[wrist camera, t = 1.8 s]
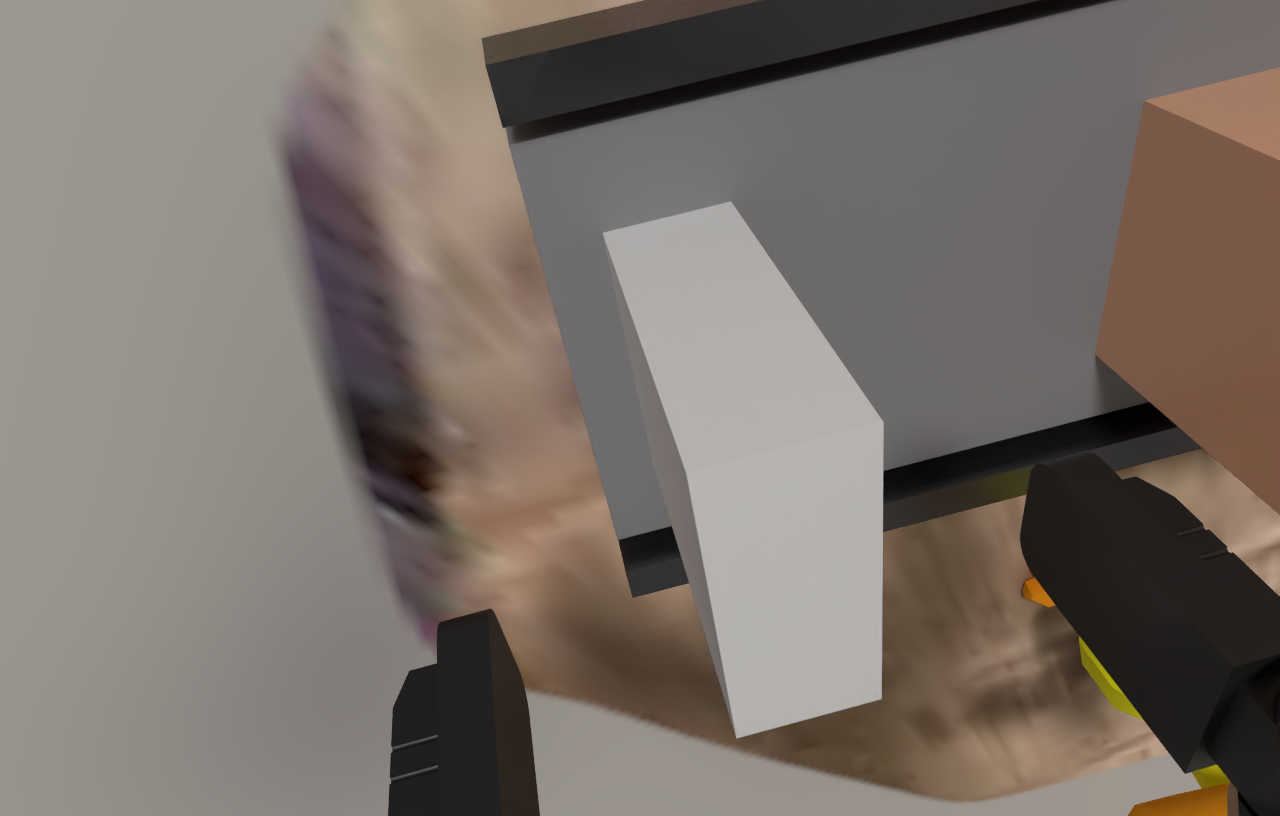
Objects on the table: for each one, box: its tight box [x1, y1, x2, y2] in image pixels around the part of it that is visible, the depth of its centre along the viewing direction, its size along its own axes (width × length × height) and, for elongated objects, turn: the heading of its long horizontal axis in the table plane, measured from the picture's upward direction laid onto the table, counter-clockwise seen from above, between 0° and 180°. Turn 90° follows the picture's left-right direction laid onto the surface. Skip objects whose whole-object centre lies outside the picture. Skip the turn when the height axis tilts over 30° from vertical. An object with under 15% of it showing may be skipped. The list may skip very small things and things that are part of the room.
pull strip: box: [506, 0, 1280, 739], centre depth 16 cm, size 22×10×8 cm, turn 100°
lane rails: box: [482, 0, 1202, 598], centre depth 18 cm, size 22×13×2 cm, turn 100°
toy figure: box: [1022, 577, 1230, 816], centre depth 22 cm, size 7×4×12 cm, turn 90°
